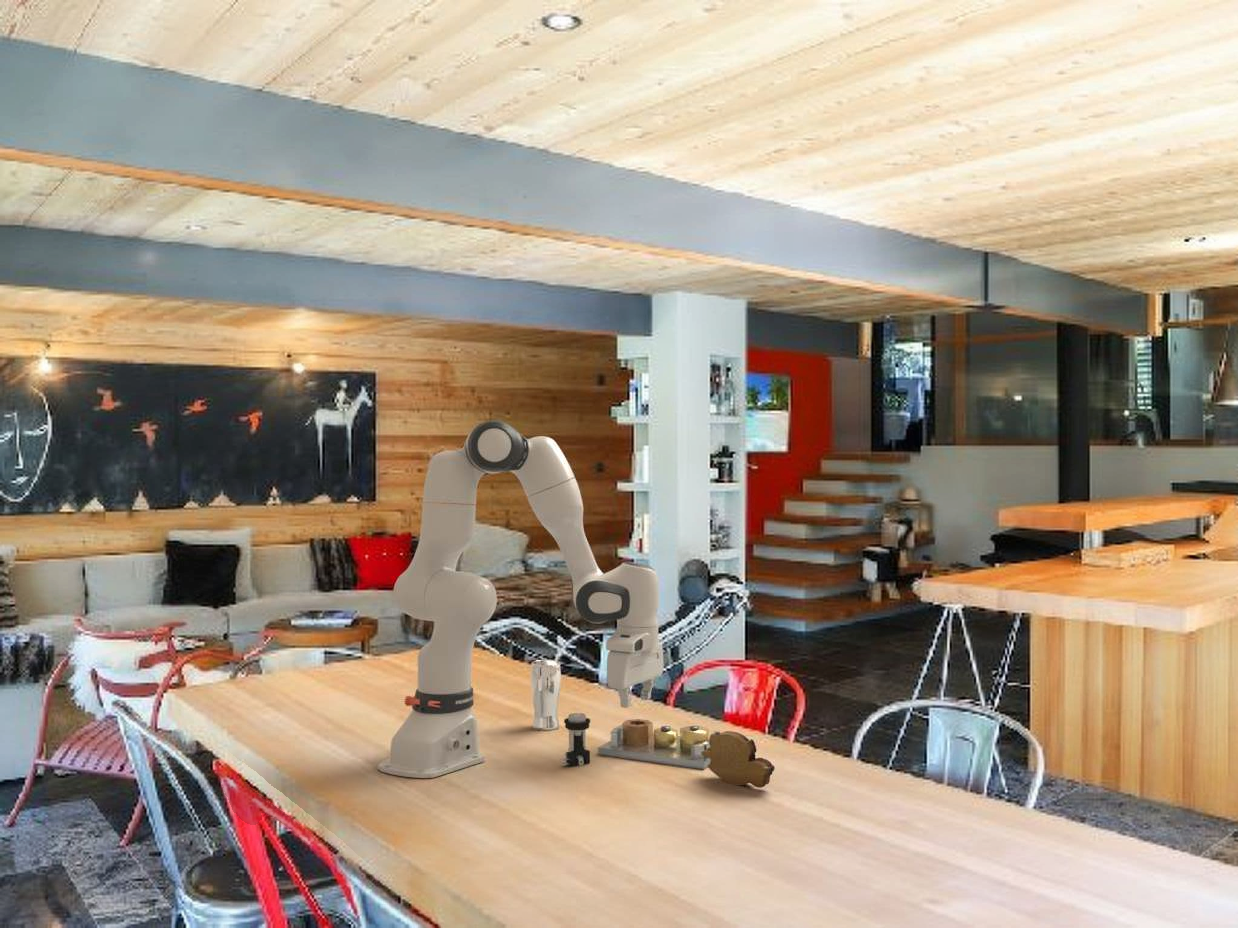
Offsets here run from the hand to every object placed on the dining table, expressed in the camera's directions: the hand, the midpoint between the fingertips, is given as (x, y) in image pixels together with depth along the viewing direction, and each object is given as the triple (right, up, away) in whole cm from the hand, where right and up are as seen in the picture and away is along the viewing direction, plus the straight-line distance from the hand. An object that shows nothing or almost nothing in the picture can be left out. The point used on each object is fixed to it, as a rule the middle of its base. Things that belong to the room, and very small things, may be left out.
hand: (635, 703), depth 235 cm
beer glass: (-20, -10, +19) cm, 29 cm away
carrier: (+6, -10, -2) cm, 12 cm away
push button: (-13, -10, -11) cm, 20 cm away
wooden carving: (+19, -11, -23) cm, 32 cm away
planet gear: (0, -8, +1) cm, 8 cm away
